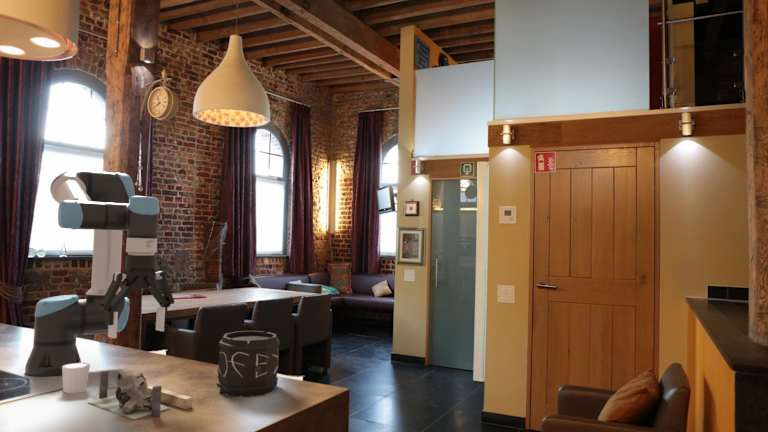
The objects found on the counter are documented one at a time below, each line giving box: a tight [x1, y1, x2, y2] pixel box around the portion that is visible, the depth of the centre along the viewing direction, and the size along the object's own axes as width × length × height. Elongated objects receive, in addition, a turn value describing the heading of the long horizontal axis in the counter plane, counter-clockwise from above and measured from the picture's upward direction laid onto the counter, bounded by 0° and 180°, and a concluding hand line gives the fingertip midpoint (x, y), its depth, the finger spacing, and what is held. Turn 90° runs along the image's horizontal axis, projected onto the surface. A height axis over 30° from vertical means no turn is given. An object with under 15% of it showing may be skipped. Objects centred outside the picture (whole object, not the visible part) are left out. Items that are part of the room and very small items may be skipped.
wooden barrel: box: [216, 330, 280, 398], centre depth 159 cm, size 18×18×16 cm
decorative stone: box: [114, 372, 152, 413], centre depth 140 cm, size 16×9×10 cm, turn 45°
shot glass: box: [61, 362, 91, 394], centre depth 153 cm, size 7×7×7 cm
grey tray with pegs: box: [87, 370, 193, 420], centre depth 142 cm, size 26×14×7 cm, turn 57°
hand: (136, 334), depth 144 cm, fingers open, 13 cm apart
